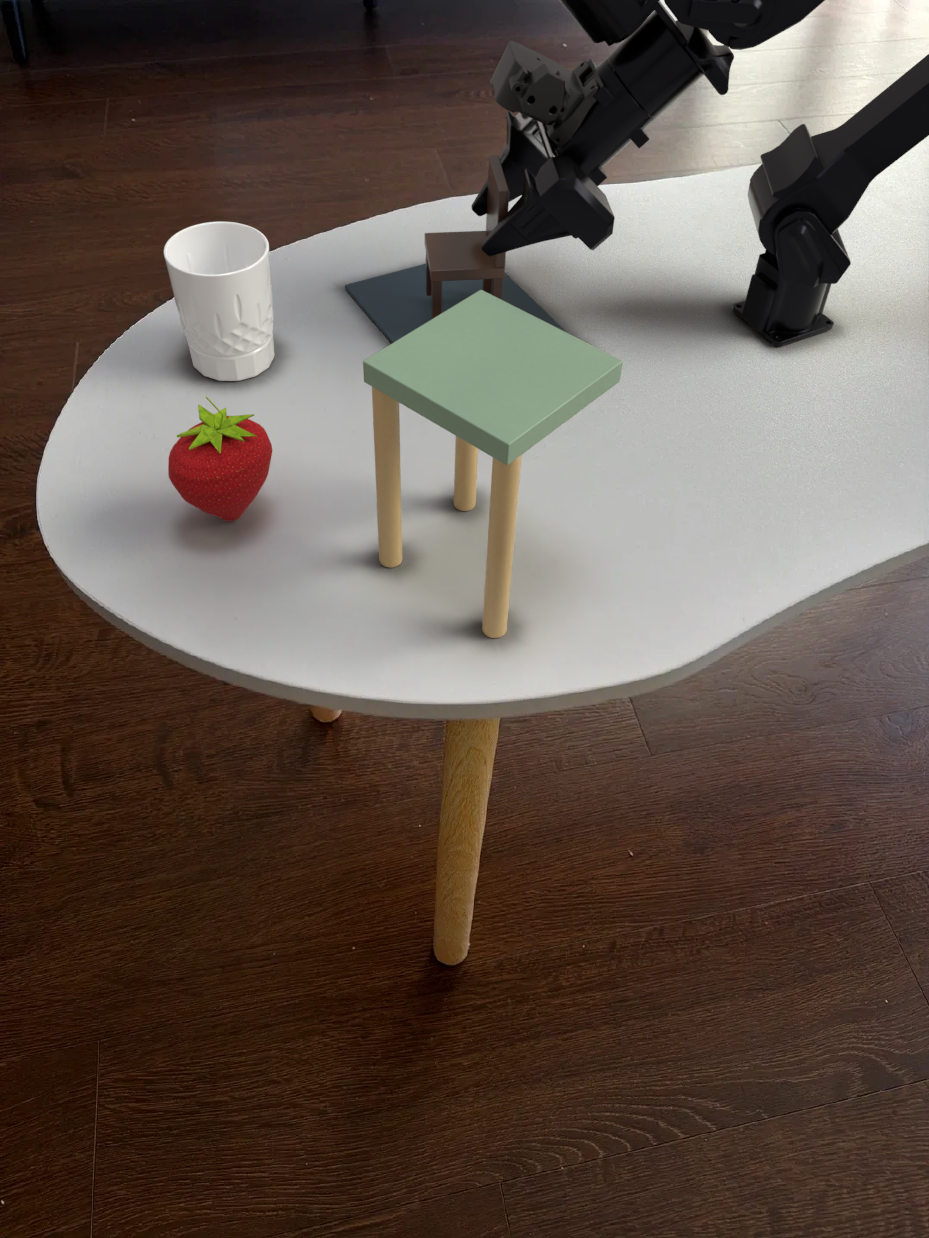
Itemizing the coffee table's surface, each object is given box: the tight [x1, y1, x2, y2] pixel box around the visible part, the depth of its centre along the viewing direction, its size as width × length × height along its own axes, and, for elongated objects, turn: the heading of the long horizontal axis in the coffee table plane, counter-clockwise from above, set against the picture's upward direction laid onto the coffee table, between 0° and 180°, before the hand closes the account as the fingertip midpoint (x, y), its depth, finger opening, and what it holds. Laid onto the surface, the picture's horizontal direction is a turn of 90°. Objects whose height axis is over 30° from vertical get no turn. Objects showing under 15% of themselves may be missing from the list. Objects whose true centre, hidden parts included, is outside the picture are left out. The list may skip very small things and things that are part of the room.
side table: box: [362, 290, 624, 639], centre depth 70 cm, size 10×11×16 cm
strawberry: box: [167, 395, 273, 522], centre depth 74 cm, size 6×8×10 cm
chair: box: [424, 154, 510, 320], centre depth 90 cm, size 6×6×12 cm
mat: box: [344, 263, 568, 344], centre depth 95 cm, size 14×18×1 cm
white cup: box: [163, 221, 275, 382], centre depth 87 cm, size 8×8×10 cm
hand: (479, 231), depth 89 cm, fingers closed on chair, 6 cm apart
